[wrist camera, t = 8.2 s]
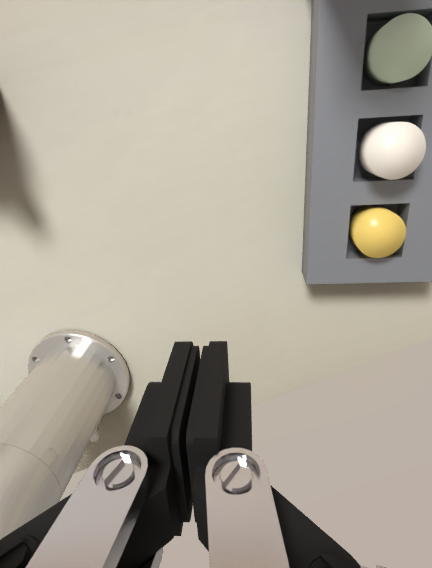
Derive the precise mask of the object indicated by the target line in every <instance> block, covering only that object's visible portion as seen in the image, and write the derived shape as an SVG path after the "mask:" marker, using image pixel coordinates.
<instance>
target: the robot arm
mask: <svg viewBox="0 0 432 568" xmlns="http://www.w3.org/2000/svg"><path fill="white" fill-rule="evenodd" d="M28 371H29V375H28V376H27V377H26V378H25V379H24V380H23V382H22V383H21V384H20V385H19V386H18V387H17V388H16V390H15V391H14V392H13V393H12V394H11V395H10V396H9V398H8V399H7V400H6V401H5V402H4V403H3V404H2V406H1V407H0V568H159V565H160V562H161V559H162V553H163V546H164V545H166V544H167V543H168V542H169V541H171V540H172V539H173V537H174V536H181V533H182V526H183V522H190V519H191V512H192V506H193V507H194V516H195V522H197V528H198V537H199V540H200V541H201V543H202V544H203V545H204V546H205V547H206V549H207V550H208V551H209V560H210V568H367V567H364V566H360V565H359V564H358V563H357V561H356V560H355V559H354V558H353V557H352V556H351V555H350V554H349V553H348V552H347V551H346V550H344V549H343V548H342V547H341V546H340V545H339V544H338V543H336V542H335V541H334V540H333V539H332V538H331V537H330V536H328V535H327V534H326V533H325V532H324V531H323V530H321V529H320V528H319V527H318V526H317V525H316V524H315V523H313V522H312V521H311V520H310V519H309V518H308V517H306V516H305V515H304V514H303V513H302V512H301V511H299V510H298V509H297V508H296V507H295V506H294V505H293V504H292V503H290V502H289V501H288V500H287V499H286V498H285V497H283V496H282V495H281V494H280V493H279V492H278V491H277V490H275V489H274V488H273V487H272V486H271V485H270V481H269V477H268V473H267V469H266V466H265V464H264V462H263V460H262V459H261V458H260V457H259V456H258V455H257V454H255V453H254V452H252V422H251V383H241V382H229V369H228V350H227V341H210V343H209V346H203V350H202V355H201V360H200V351H199V346H193V342H175V343H174V346H173V349H172V352H171V355H170V358H169V361H168V364H167V367H166V370H165V373H164V376H163V379H162V382H150V383H148V385H147V387H146V390H145V393H144V395H143V398H142V400H141V403H140V406H139V408H138V411H137V413H136V416H135V419H134V421H133V424H132V426H131V429H130V432H129V434H128V437H127V439H126V442H125V445H122V446H118V447H113V448H111V449H109V450H107V451H105V452H103V453H102V454H101V455H99V456H98V457H97V458H96V459H95V460H94V461H93V463H92V464H91V465H90V467H89V468H88V470H87V472H86V473H85V475H84V476H83V478H82V479H81V481H80V482H79V484H78V486H77V487H76V489H75V491H74V492H73V493H72V494H71V495H70V496H68V497H66V498H65V499H63V500H62V501H60V502H59V500H60V498H61V496H62V494H63V492H64V490H65V488H66V486H67V484H68V482H69V480H70V478H71V476H72V474H73V472H74V470H75V468H76V466H77V464H78V462H79V460H80V458H81V456H82V454H83V452H84V450H85V448H86V446H87V444H88V442H89V441H90V442H95V441H97V440H98V439H99V438H100V435H99V431H98V428H97V427H98V425H99V423H100V421H101V419H102V417H103V415H104V414H107V413H109V412H111V411H113V410H114V409H116V408H117V407H118V406H119V405H120V404H121V403H122V401H123V400H124V398H125V396H126V394H127V392H128V388H129V383H130V376H129V371H128V368H127V365H126V363H125V361H124V359H123V358H122V356H121V355H120V353H119V352H118V351H117V350H116V349H115V348H114V347H113V346H111V345H110V344H109V343H108V342H106V341H105V340H103V339H101V338H99V337H98V336H95V335H92V334H90V333H87V332H82V331H75V330H66V331H59V332H56V333H53V334H50V335H49V336H47V337H45V338H44V339H42V340H41V341H40V342H39V343H38V344H37V345H36V347H35V348H34V349H33V351H32V352H31V355H30V357H29V363H28ZM376 568H386V567H382V566H379V565H377V566H376Z"/></svg>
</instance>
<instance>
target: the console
mask: <svg viewBox="0 0 432 568" xmlns="http://www.w3.org/2000/svg"><path fill="white" fill-rule="evenodd" d="M407 13H414V14H419V15H421V16H423V17H424V18H426V19H427V20H428V21H429V23H430V24H431V26H432V0H312V19H311V45H310V71H309V98H308V124H307V151H306V177H305V204H304V230H303V257H302V273H303V275H304V278H305V281H306V283H307V284H348V283H395V282H432V56H431V58H430V60H429V62H428V63H427V65H426V66H425V67H424V69H423V70H422V71H421V72H419V73H418V74H417V75H416V76H414V77H412V78H410V79H408V80H404V81H401V82H397V83H394V84H390V85H377V84H375V83H373V82H371V81H370V80H369V79H368V78H367V77H366V76H365V74H364V72H363V60H364V48H365V44H366V42H367V41H368V39H369V38H370V37H371V35H372V34H373V33H375V32H376V31H377V30H378V29H380V28H381V27H382V26H384V25H385V24H387V23H388V22H389V21H391V20H392V19H394V18H395V17H397V16H399V15H402V14H407ZM383 122H409V123H412V124H414V125H416V126H417V127H418V128H419V129H420V130H421V131H422V132H423V134H424V137H425V141H426V151H425V155H424V158H423V160H422V162H421V163H420V165H419V166H418V167H417V168H416V169H415V170H414V171H413V172H412V173H411V174H409V175H407V176H405V177H403V178H400V179H395V180H389V179H385V178H382V177H379V176H376V175H374V174H371V173H369V172H367V171H366V170H365V169H363V167H362V166H361V165H360V163H359V160H358V155H357V150H358V145H359V142H360V140H361V138H362V136H363V135H364V134H365V133H366V132H367V131H368V130H369V129H370V128H371V127H373V126H375V125H377V124H379V123H383ZM376 204H377V205H381V206H383V207H385V208H386V209H388V210H390V211H391V212H393V213H395V214H396V215H398V216H399V217H400V218H401V219H402V220H403V222H404V224H405V227H406V236H405V239H404V242H403V244H402V245H401V247H400V248H399V249H398V250H397V251H396V252H394V253H393V254H391V255H389V256H386V257H383V258H372V257H369V256H366V255H365V254H363V253H362V252H361V251H360V250H359V249H358V247H357V246H356V245H355V244H354V243H353V242H352V241H351V240H350V238H349V236H348V231H349V220H350V217H351V215H352V214H353V213H354V212H355V211H356V210H357V209H359V208H360V207H362V206H365V205H376Z"/></svg>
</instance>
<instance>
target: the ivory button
mask: <svg viewBox="0 0 432 568" xmlns="http://www.w3.org/2000/svg"><path fill="white" fill-rule="evenodd" d="M425 151H426V141H425V137H424V134H423V132H422V131H421V130H420V129H419V128H418V127H417V126H416V125H414V124H412V123H409V122H383V123H379V124H377V125H375V126H373V127H371V128H370V129H369V130H368V131H367V132H366V133H365V134H364V135H363V136H362V138H361V140H360V142H359V145H358V150H357V155H358V160H359V163H360V165H361V166H362V167H363V169H365V170H366V171H367V172H369V173H371V174H374V175H376V176H379V177H382V178H385V179H389V180H395V179H400V178H403V177H405V176H407V175H409V174H411V173H412V172H413V171H414V170H415V169H416V168H417V167H418V166H419V165H420V163H421V162H422V160H423V158H424V155H425Z"/></svg>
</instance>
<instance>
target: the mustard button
mask: <svg viewBox="0 0 432 568" xmlns="http://www.w3.org/2000/svg"><path fill="white" fill-rule="evenodd" d="M348 236H349V238H350V240H351V241H352V242H353V243H354V244H355V245H356V246H357V247H358V249H359V250H360V251H361V252H362V253H363V254H365V255H366V256H369V257H372V258H383V257H386V256H389V255H391V254H393V253H394V252H396V251H397V250H398V249H399V248H400V247H401V245H402V244H403V242H404V239H405V236H406V227H405V224H404V222H403V220H402V219H401V218H400V217H399V216H398V215H396V214H395V213H393V212H391V211H390V210H388V209H386V208H385V207H383V206H381V205H377V204H376V205H365V206H362V207H360V208H359V209H357V210H356V211H355V212H354V213H353V214H352V215H351V217H350V220H349V231H348Z"/></svg>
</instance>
